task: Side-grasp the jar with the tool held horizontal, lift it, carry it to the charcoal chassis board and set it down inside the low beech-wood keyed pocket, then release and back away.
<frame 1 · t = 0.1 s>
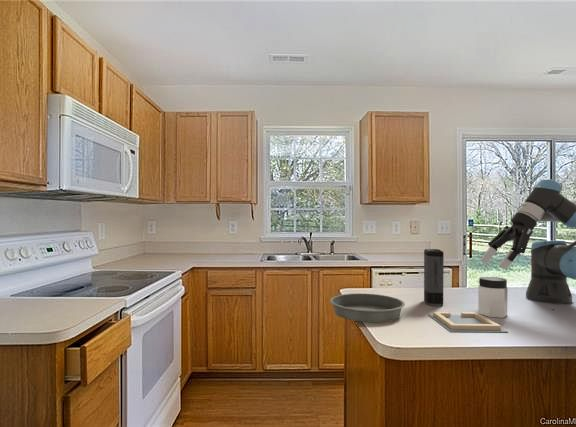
hand: (492, 265, 139), 15 cm above the countertop, tool tilted 35°, fingers open, 13 cm apart
electronic device: (433, 303, 145), on the countertop
cake pan: (366, 314, 129), on the countertop
chassis: (465, 323, 118), on the countertop
jar: (492, 315, 129), on the countertop
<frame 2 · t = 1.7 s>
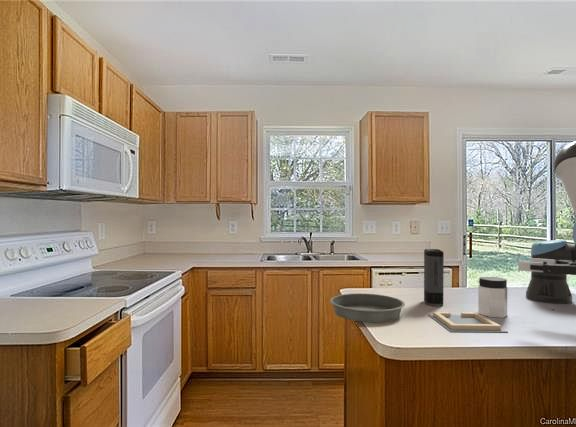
hand: (525, 263, 122), 18 cm above the countertop, tool horizontal, fingers open, 13 cm apart
nothing on the countertop moved.
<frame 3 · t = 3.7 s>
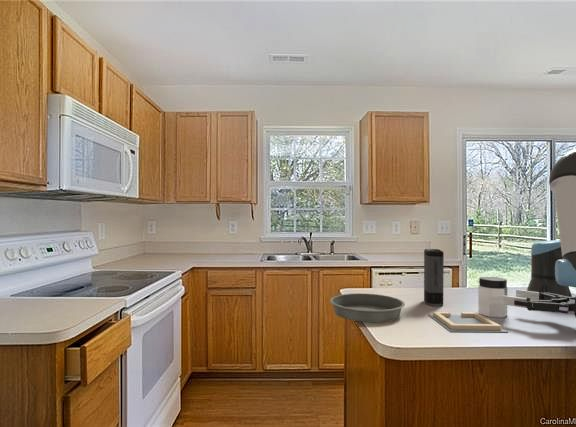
hand: (509, 296, 124), 7 cm above the countertop, tool horizontal, fingers open, 13 cm apart
nothing on the countertop moved.
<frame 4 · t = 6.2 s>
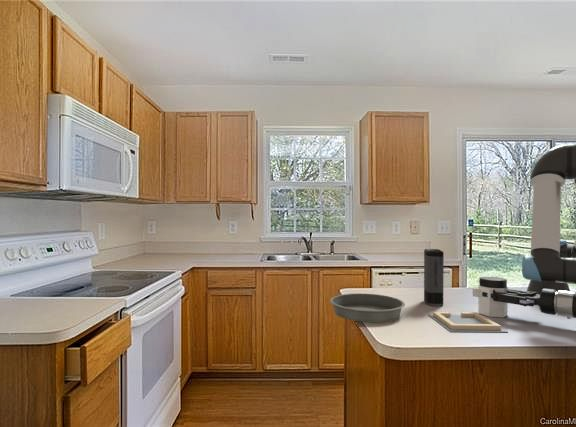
hand: (475, 291, 132), 7 cm above the countertop, tool horizontal, fingers closed on jar, 4 cm apart
jar: (492, 314, 129), on the countertop, touching gripper
everything else where it was.
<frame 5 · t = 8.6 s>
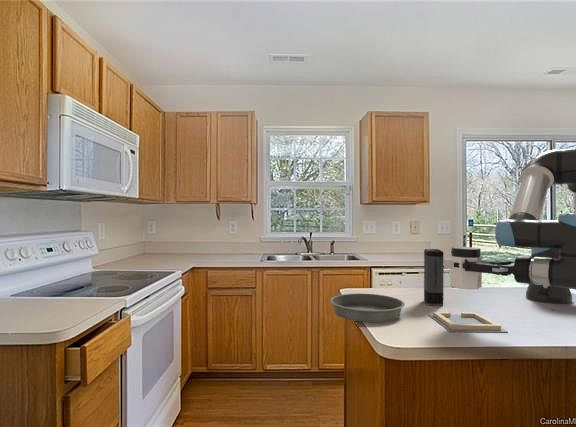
hand: (448, 262, 122), 18 cm above the countertop, tool horizontal, fingers closed on jar, 4 cm apart
jar: (465, 287, 118), point 11 cm above the countertop, touching gripper
everything else where it was.
when the fingers open (8 cm above the countertop, at t = 11.2 s): jar moves 3 cm, resting on chassis.
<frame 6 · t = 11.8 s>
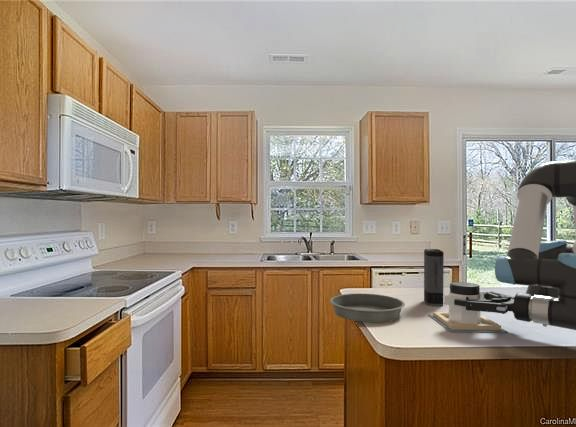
hand: (454, 296, 120), 8 cm above the countertop, tool horizontal, fingers open, 13 cm apart
jar: (464, 324, 116), resting on chassis
everything else where it was.
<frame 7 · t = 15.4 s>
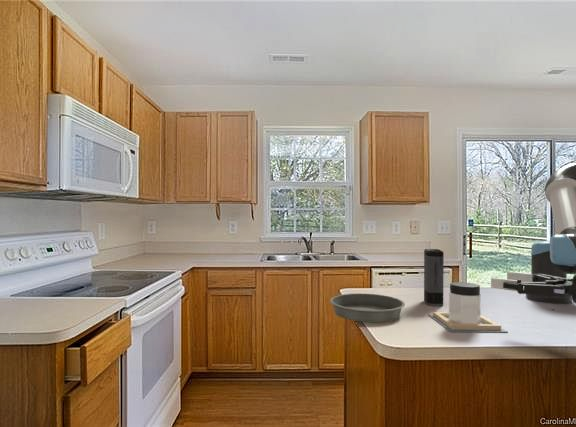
hand: (499, 279, 110), 15 cm above the countertop, tool horizontal, fingers open, 13 cm apart
nothing on the countertop moved.
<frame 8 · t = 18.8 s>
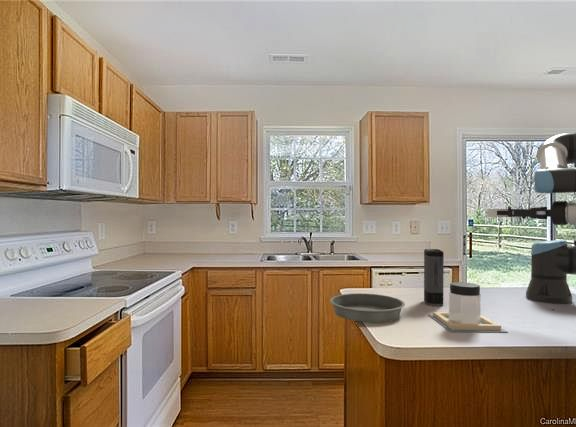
hand: (494, 212, 135), 34 cm above the countertop, tool horizontal, fingers open, 13 cm apart
nothing on the countertop moved.
at the end: jar inside the target area on the chassis (2.5 cm from its centre), point 0.1 cm above the chassis's base; jar tilted 0°; the gripper is holding nothing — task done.
